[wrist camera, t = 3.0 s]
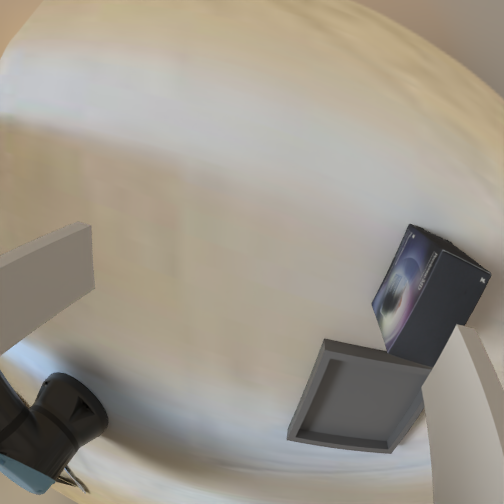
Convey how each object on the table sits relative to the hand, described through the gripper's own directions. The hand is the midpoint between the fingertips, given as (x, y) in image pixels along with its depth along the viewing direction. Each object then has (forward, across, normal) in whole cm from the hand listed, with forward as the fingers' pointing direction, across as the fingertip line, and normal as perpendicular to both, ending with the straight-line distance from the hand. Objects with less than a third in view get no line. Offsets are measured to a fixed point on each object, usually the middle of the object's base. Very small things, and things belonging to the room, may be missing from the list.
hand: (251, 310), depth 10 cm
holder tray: (+24, -13, +26) cm, 38 cm away
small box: (+26, -12, +7) cm, 30 cm away
